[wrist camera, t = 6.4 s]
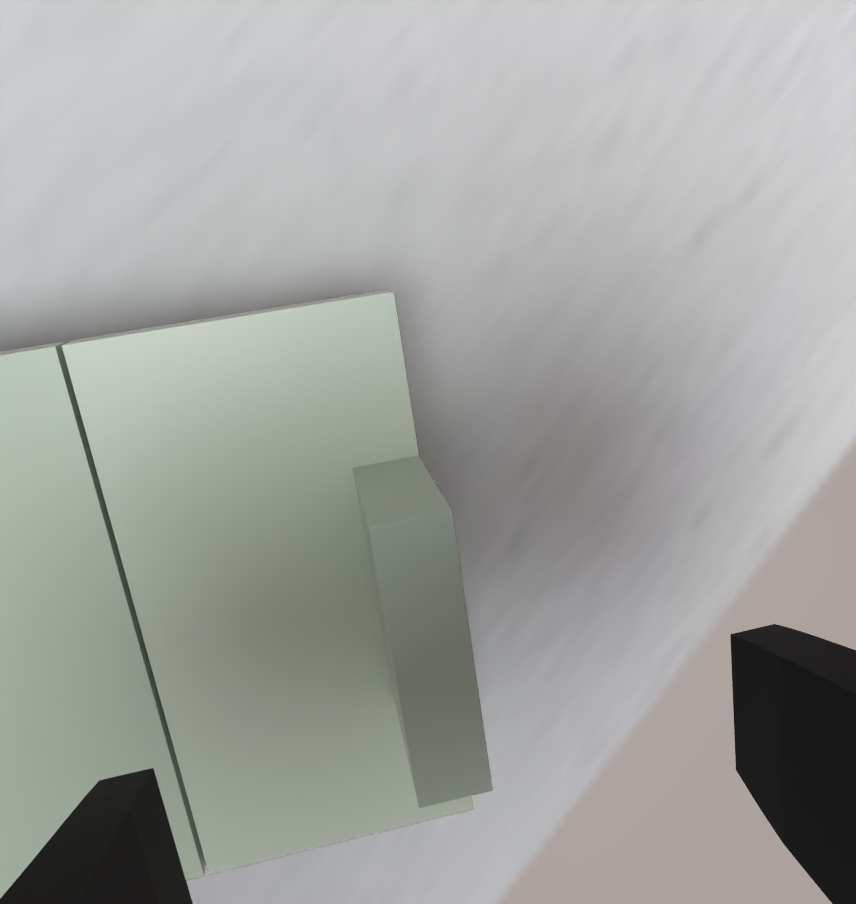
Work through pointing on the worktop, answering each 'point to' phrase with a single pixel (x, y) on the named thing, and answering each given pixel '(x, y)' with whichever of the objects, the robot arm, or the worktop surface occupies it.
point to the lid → (230, 587)
